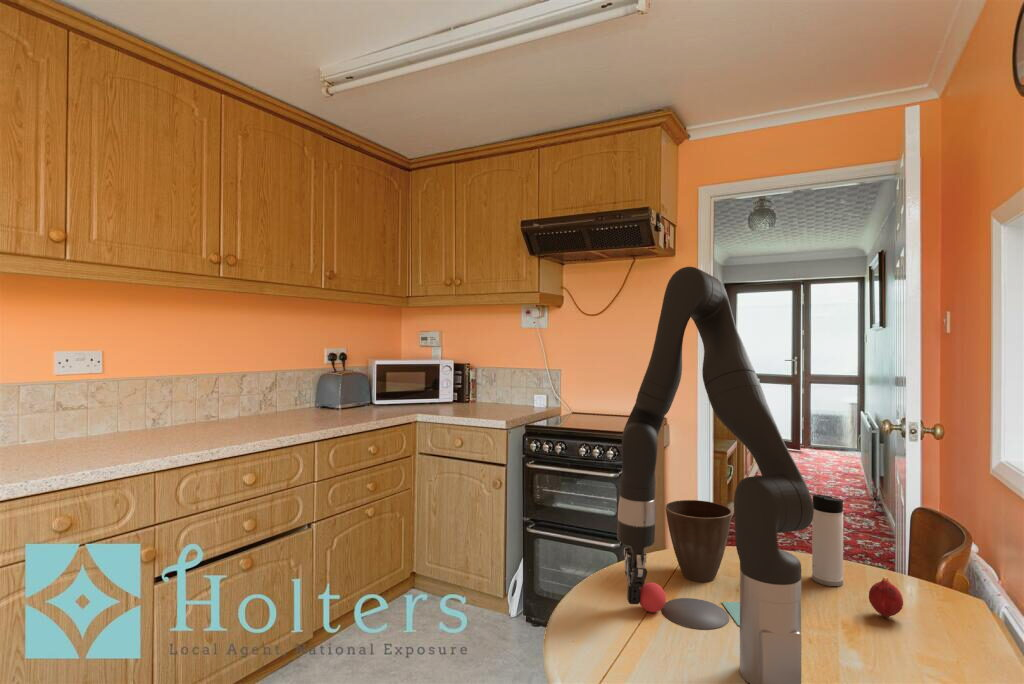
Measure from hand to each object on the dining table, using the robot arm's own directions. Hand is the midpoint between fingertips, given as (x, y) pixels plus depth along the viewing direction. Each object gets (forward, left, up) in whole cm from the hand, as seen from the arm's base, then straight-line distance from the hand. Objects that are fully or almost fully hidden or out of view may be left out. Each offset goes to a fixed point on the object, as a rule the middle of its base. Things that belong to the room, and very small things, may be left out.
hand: (633, 602), depth 117 cm
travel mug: (+17, -48, -2) cm, 50 cm away
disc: (0, -13, -2) cm, 13 cm away
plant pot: (+19, -19, -2) cm, 26 cm away
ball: (0, -4, +1) cm, 4 cm away
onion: (0, -51, -2) cm, 51 cm away
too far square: (0, -25, -2) cm, 25 cm away
